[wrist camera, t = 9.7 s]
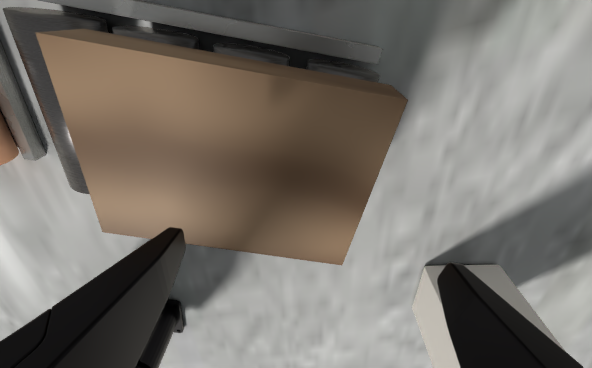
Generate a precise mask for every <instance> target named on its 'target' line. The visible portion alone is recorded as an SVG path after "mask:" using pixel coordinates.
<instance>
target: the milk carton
mask: <svg viewBox="0 0 592 368" xmlns="http://www.w3.org/2000/svg"><path fill="white" fill-rule="evenodd" d="M445 266H446V265H442V266H425V267H424V270H423V273H422V277H421V280H420V283H419V286H418V290H417V293H416V296H415V300H414V303H413V306H412V309H413V312H414V315H415V318H416V320H417V323H418V326H419V329H420V332H421V334H422V337H423V340H424V343H425V346H426V348H427V351H428V354H429V357H430V360H431V362H432V365H433V368H460V365H459V362H458V359H457V356H456V353H455V350H454V347H453V344H452V341H451V338H450V335H449V331H448V328H447V324H446V320H445V316H444V311H443V307H442V302H441V298H440V293H439V289H438V284H437V278H438V276H439V274H440V273H441V272H442V270H443V269H444V267H445ZM464 266H465V267H466V268H468V269H469V270H470V271H471V272H472V273H473V274H475V275H476V276H477V277H478V278H479V279H481V280H482V281H483V282H484V283H485V284H486V285H488V286H489V287H490V288H491V289H492V290H493V291H495V292H496V293H497V294H498V295H499V296H501V297H502V298H503V299H504V300H505V301H506V302H508V303H509V304H510V305H511V306H512V307H513V308H515V309H516V310H517V311H518V312H519V313H521V314H522V315H523V316H524V317H525V318H526V319H528V320H529V321H530V322H531V323H532V324H534V325H535V326H536V327H537V328H538V329H539V330H541V331H542V332H543V333H544V334H545V335H546V336H548V337H549V338H550V339H551V340H552V341H554V342H555V343H556V344H557V345H558V346H559V347H561V348H562V346H561V345H560V344H559V342H558V341H557V340H556V338H555V337H554V336H553V335H552V333H551V332H550V331H549V329H548V328H547V327H546V325H545V324H544V323H543V321H542V320H541V319H540V317H539V316H538V315H537V314H536V312H535V311H534V310H533V308H532V307H531V306H530V304H529V303H528V302H527V300H526V299H525V298H524V296H523V295H522V294H521V293H520V291H519V290H518V289H517V287H516V286H515V285H514V283H513V282H512V281H511V279H510V278H509V277H508V275H507V274H506V273H505V272H504V270H503V269H502V268H501V266H499V265H464ZM562 349H563V348H562ZM563 350H564V349H563ZM564 351H565V350H564Z"/></svg>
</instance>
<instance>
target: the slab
mask: <svg viewBox="0 0 592 368" xmlns="http://www.w3.org/2000/svg"><path fill="white" fill-rule="evenodd" d="M35 33H36V36H37V39H38V42H39V45H40V48H41V51H42V54H43V57H44V60H45V63H46V66H47V69H48V72H49V74H50V77H51V80H52V83H53V86H54V89H55V92H56V95H57V98H58V101H59V104H60V107H61V110H62V113H63V116H64V119H65V122H66V125H67V128H68V131H69V134H70V137H71V140H72V143H73V146H74V149H75V152H76V155H77V158H78V160H79V163H80V166H81V169H82V172H83V175H84V178H85V181H86V184H87V187H88V190H89V193H90V196H91V199H92V202H93V205H94V208H95V211H96V214H97V217H98V220H99V223H100V226H101V229H102V232H105V233H113V234H120V235H127V236H134V237H142V238H149V239H152V238H154V237H155V236H157V235H158V234H160V233H161V232H163V231H164V230H166V229H167V228H169V227H174V228H181V229H182V230H183V232H184V238H185V244H192V245H199V246H207V247H214V248H221V249H228V250H235V251H243V252H250V253H257V254H264V255H272V256H279V257H286V258H293V259H300V260H308V261H315V262H322V263H329V264H337V265H342V264H343V262H344V259H345V257H346V254H347V252H348V249H349V247H350V244H351V242H352V239H353V237H354V234H355V232H356V229H357V227H358V224H359V222H360V219H361V217H362V214H363V212H364V209H365V207H366V204H367V202H368V199H369V197H370V194H371V192H372V189H373V187H374V184H375V182H376V179H377V177H378V174H379V172H380V169H381V166H382V164H383V161H384V159H385V156H386V154H387V151H388V149H389V146H390V144H391V141H392V139H393V136H394V134H395V131H396V129H397V126H398V124H399V121H400V119H401V116H402V114H403V111H404V109H405V106H406V104H407V101H408V100H407V99H406V98H405V97H404V96H403V95H402V94H401V93H399V92H398V91H397V90H396V89H395V88H394V87H392V86H391V85H387V84H382V83H377V82H371V81H366V80H360V79H355V78H349V77H344V76H339V75H333V74H328V73H322V72H317V71H311V70H306V69H301V68H295V67H290V66H284V65H279V64H273V63H268V62H263V61H257V60H252V59H246V58H241V57H235V56H230V55H225V54H219V53H214V52H208V51H203V50H197V49H192V48H187V47H181V46H176V45H170V44H165V43H160V42H154V41H149V40H143V39H138V38H132V37H127V36H122V35H116V34H111V33H105V32H100V31H94V30H89V29H74V30H60V31H47V32H35Z"/></svg>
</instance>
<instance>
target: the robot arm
mask: <svg viewBox="0 0 592 368" xmlns="http://www.w3.org/2000/svg"><path fill="white" fill-rule="evenodd" d="M185 248H186V244H185V238H184V232H183V230H182V229H181V228H174V227H169V228H167V229H166V230H164V231H163V232H161V233H160V234H158V235H157V236H155V237H154V238H152V239H151V240H150V241H148V242H147V243H145V244H144V245H142V246H141V247H139V248H138V249H136V250H135V251H133V252H132V253H130V254H129V255H128V256H126V257H125V258H123V259H122V260H120V261H119V262H117V263H116V264H114V265H113V266H111V267H110V268H109V269H107V270H106V271H104V272H103V273H101V274H100V275H98V276H97V277H95V278H94V279H92V280H91V281H89V282H88V283H87V284H85V285H84V286H82V287H81V288H79V289H78V290H76V291H75V292H73V293H72V294H70V295H69V296H67V297H66V298H65V299H63V300H62V301H60V302H59V303H57V304H56V305H54V306H53V307H52V309H48V310H47V311H45V312H44V313H42V314H41V315H39V316H38V317H36V318H35V319H34V320H32V321H31V322H29V323H28V324H26V325H25V326H23V327H21V328H20V329H18V330H17V331H15V332H14V333H12V334H11V335H9V336H8V337H6V338H5V339H3V340H2V341H0V368H159V365H160V363H161V360H162V358H163V356H164V353H165V351H166V348H167V346H168V344H169V341H170V339H171V336H172V334H173V332H176V333H182V332H183V330H184V325H183V318H182V311H181V304H180V302H178V301H174V300H168V297H169V295H170V292H171V290H172V287H173V284H174V281H175V279H176V276H177V273H178V270H179V267H180V264H181V261H182V259H183V256H184V253H185ZM437 284H438V289H439V293H440V298H441V302H442V307H443V311H444V316H445V320H446V324H447V328H448V331H449V335H450V338H451V341H452V344H453V347H454V350H455V353H456V356H457V359H458V362H459V365H460V368H583V366H582V365H581V364H579V363H578V362H577V361H576V360H575V359H574V358H572V357H571V356H570V355H569V354H568V353H566V352H565V351H564V350H563V349H562V348H561V347H559V346H558V345H557V344H556V343H555V342H554V341H552V340H551V339H550V338H549V337H548V336H546V335H545V334H544V333H543V332H542V331H541V330H539V329H538V328H537V327H536V326H535V325H534V324H532V323H531V322H530V321H529V320H528V319H526V318H525V317H524V316H523V315H522V314H521V313H519V312H518V311H517V310H516V309H515V308H513V307H512V306H511V305H510V304H509V303H508V302H506V301H505V300H504V299H503V298H502V297H501V296H499V295H498V294H497V293H496V292H495V291H493V290H492V289H491V288H490V287H489V286H488V285H486V284H485V283H484V282H483V281H482V280H481V279H479V278H478V277H477V276H476V275H475V274H473V273H472V272H471V271H470V270H469V269H468V268H466V267H465V266H464V265H462V264H460V263H452V262H449V263H448V264H447V265H446V266H445V267H444V269H443V270H442V272H441V273H440V274H439V276H438V278H437Z"/></svg>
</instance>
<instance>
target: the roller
mask: <svg viewBox="0 0 592 368" xmlns="http://www.w3.org/2000/svg"><path fill="white" fill-rule="evenodd" d="M18 154H19V151H18V148H17V146H16V144H15V142H14V140H13V138H12V136H11V134H10V131H9V129H8V127H7V125H6V123H5V121H4V119H3V117H2V114H1V112H0V165H2V164H5V163H7V162H9V161H11V160H13V159H14V158H15V157H17V155H18Z"/></svg>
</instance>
